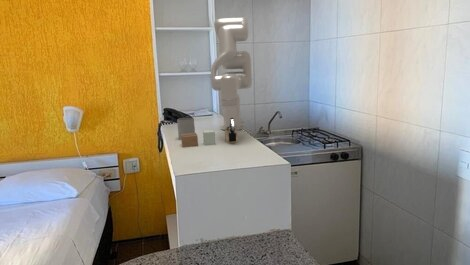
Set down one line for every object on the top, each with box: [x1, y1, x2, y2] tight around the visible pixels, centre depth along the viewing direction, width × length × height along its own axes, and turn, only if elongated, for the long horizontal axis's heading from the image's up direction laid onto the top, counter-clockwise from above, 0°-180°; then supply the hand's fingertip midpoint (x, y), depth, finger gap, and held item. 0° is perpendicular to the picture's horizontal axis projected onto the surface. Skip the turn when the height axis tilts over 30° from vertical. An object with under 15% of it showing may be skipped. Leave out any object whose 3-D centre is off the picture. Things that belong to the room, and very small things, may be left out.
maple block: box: [224, 128, 238, 144], centre depth 176 cm, size 5×5×6 cm
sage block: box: [202, 129, 216, 146], centre depth 174 cm, size 5×5×6 cm
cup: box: [177, 117, 196, 141], centre depth 189 cm, size 8×8×10 cm
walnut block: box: [181, 132, 199, 148], centre depth 174 cm, size 7×7×5 cm
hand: (231, 139), depth 177 cm, fingers open, 6 cm apart
